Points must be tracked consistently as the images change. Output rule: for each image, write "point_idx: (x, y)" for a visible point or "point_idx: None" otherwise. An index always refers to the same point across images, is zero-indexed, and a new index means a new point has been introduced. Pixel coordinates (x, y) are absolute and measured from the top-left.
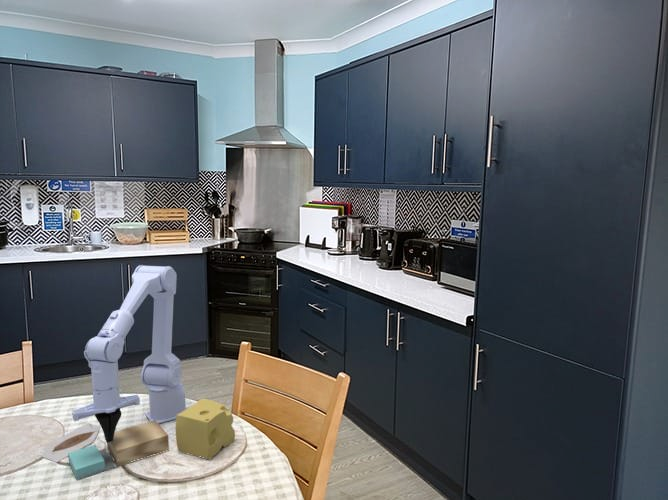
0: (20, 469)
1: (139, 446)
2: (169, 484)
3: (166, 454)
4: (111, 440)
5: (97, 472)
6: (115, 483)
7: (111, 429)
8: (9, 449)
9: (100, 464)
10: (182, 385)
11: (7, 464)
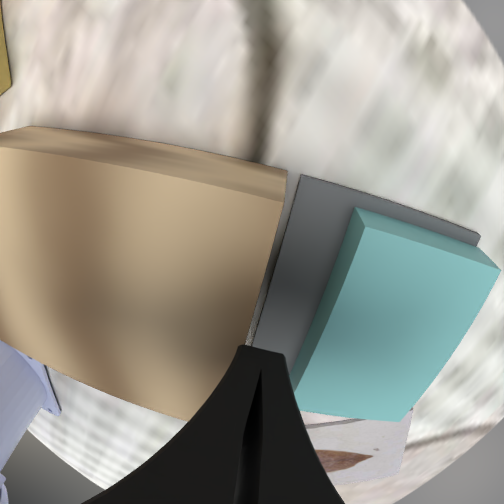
0: (471, 427)
1: (110, 156)
2: None
3: (49, 93)
4: (252, 350)
5: (401, 205)
6: (384, 23)
7: (238, 429)
8: (402, 494)
9: (385, 226)
10: None
11: (457, 456)
